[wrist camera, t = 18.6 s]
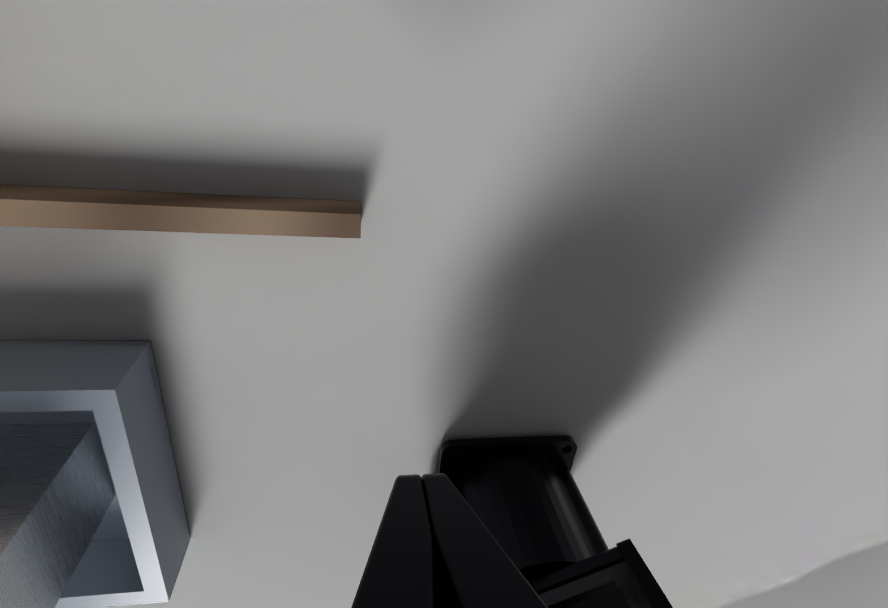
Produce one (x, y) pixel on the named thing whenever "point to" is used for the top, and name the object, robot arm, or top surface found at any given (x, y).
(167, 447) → the tray
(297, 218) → the bar
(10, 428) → the block
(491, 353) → the top surface
